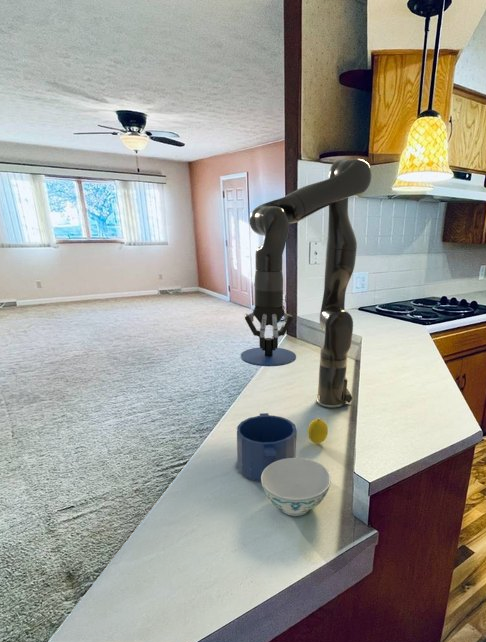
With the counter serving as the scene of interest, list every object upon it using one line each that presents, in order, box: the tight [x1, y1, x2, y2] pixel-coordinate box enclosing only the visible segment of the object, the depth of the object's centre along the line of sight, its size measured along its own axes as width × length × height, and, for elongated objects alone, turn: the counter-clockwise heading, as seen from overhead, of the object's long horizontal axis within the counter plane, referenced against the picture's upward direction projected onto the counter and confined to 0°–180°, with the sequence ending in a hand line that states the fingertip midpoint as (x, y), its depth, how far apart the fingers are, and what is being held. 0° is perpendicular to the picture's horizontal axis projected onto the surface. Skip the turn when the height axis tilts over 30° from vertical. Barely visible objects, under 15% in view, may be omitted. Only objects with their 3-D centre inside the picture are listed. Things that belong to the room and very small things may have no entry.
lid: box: [240, 337, 297, 367], centre depth 116 cm, size 16×16×6 cm
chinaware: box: [260, 457, 332, 517], centre depth 90 cm, size 15×15×8 cm
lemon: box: [307, 418, 329, 445], centre depth 115 cm, size 6×6×8 cm
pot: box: [236, 412, 298, 482], centre depth 103 cm, size 15×20×10 cm
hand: (268, 349), depth 116 cm, fingers closed on lid, 2 cm apart
